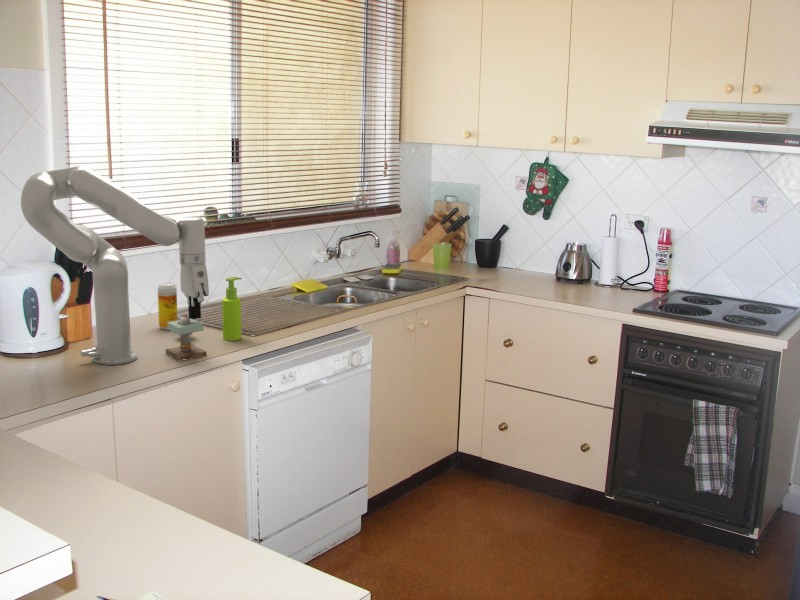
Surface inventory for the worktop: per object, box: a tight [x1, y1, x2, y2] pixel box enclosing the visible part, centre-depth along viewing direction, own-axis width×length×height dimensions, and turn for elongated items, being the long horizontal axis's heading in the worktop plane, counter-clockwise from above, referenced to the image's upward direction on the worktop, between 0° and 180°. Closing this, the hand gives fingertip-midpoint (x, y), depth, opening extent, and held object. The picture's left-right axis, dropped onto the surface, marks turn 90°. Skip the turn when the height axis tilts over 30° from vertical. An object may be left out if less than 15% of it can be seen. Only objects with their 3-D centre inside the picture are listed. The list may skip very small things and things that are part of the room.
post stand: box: [165, 316, 208, 361], centre depth 262 cm, size 9×9×12 cm
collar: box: [167, 319, 205, 335], centre depth 261 cm, size 8×8×2 cm
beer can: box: [157, 282, 179, 331], centre depth 291 cm, size 6×6×15 cm
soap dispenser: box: [221, 276, 243, 341], centre depth 281 cm, size 6×7×20 cm
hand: (194, 318), depth 263 cm, fingers closed
